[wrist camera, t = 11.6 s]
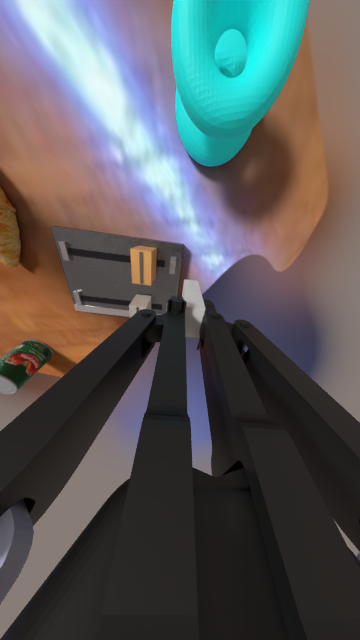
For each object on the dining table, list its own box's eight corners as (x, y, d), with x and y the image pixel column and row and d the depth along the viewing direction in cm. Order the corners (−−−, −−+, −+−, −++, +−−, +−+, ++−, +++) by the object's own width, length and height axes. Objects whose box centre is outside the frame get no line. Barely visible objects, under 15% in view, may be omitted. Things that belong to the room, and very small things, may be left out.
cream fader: (137, 315, 32) (130, 328, 27) (136, 294, 29) (128, 305, 25) (151, 316, 32) (146, 330, 27) (151, 295, 29) (145, 307, 25)
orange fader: (140, 274, 27) (131, 283, 23) (139, 245, 24) (129, 248, 20) (155, 276, 27) (150, 285, 23) (156, 247, 24) (151, 251, 20)
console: (81, 307, 34) (74, 312, 31) (59, 226, 25) (47, 226, 23) (174, 317, 35) (174, 323, 32) (183, 243, 26) (183, 245, 24)
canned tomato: (56, 348, 41) (19, 383, 32) (49, 362, 44) (14, 398, 35) (25, 334, 38) (-25, 367, 29) (20, 350, 42) (-27, 385, 32)
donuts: (177, 137, 13) (158, -150, 8) (179, 174, 21) (171, 51, 16) (293, 119, 12) (361, -210, 7) (248, 164, 21) (262, 33, 15)
